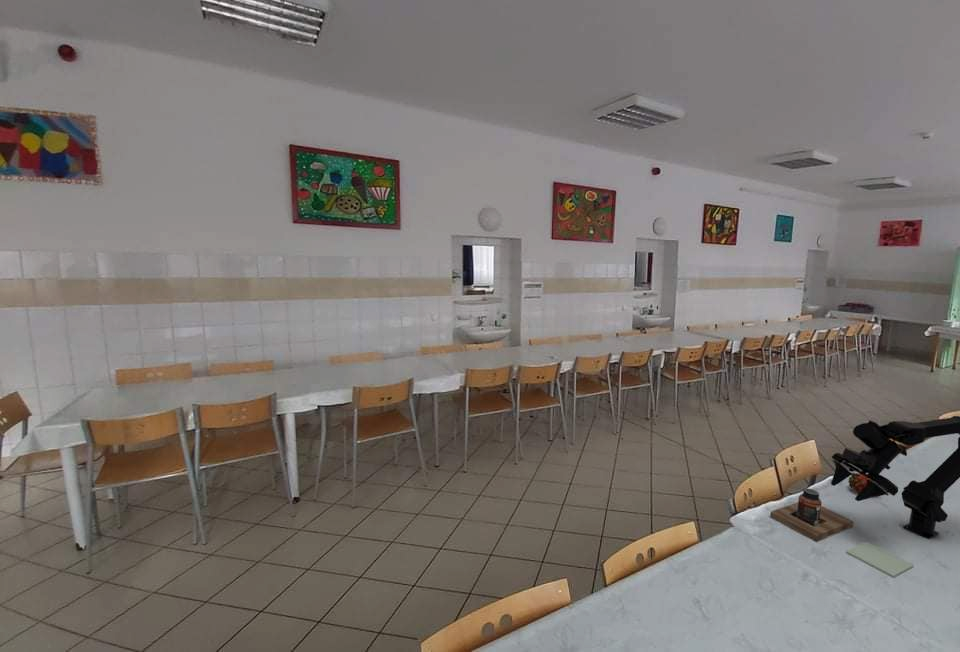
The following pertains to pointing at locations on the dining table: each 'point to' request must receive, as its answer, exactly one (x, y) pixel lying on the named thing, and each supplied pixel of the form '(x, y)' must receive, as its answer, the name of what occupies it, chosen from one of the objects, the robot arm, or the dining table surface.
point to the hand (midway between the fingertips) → (843, 492)
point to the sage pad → (880, 559)
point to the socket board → (827, 526)
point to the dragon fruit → (858, 481)
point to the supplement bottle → (809, 507)
